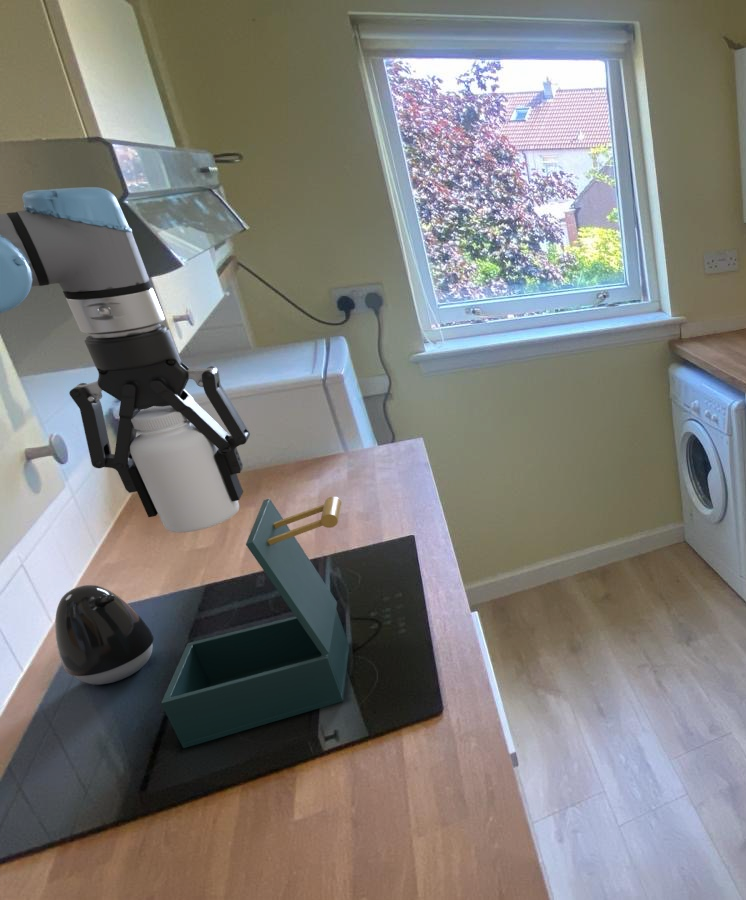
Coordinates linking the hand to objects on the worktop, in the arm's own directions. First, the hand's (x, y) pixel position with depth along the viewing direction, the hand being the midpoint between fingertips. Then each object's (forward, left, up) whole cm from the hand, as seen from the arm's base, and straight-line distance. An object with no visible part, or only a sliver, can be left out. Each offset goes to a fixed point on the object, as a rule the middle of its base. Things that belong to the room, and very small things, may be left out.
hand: (197, 504), depth 93 cm
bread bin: (0, 0, -31) cm, 31 cm away
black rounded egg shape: (-22, +17, -32) cm, 42 cm away
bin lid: (+7, 0, -14) cm, 15 cm away
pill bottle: (0, 0, -2) cm, 2 cm away
